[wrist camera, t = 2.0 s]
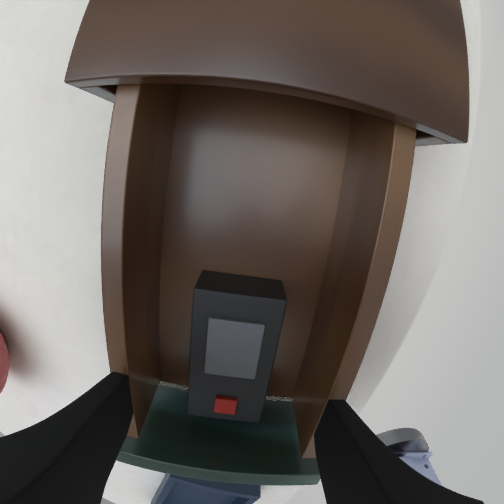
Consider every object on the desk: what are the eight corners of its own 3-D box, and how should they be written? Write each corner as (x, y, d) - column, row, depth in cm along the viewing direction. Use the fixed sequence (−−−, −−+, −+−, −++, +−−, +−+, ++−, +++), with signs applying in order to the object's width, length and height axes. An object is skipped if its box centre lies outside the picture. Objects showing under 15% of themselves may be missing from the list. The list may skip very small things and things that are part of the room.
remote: (282, 280, 13) (288, 302, 11) (258, 395, 15) (259, 426, 13) (202, 269, 13) (192, 290, 11) (193, 387, 15) (186, 417, 13)
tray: (173, 458, 20) (169, 476, 18) (260, 480, 21) (260, 497, 19) (151, 501, 23) (148, 514, 21) (218, 518, 24) (217, 530, 22)
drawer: (299, 425, 17) (311, 494, 12) (144, 406, 17) (119, 471, 11) (374, 103, 12) (440, 74, 7) (160, 72, 12) (111, 23, 6)
